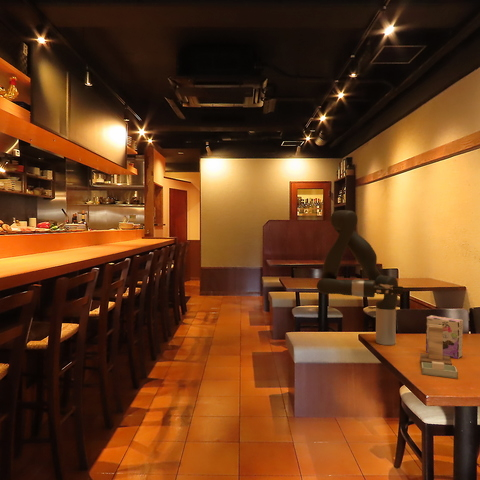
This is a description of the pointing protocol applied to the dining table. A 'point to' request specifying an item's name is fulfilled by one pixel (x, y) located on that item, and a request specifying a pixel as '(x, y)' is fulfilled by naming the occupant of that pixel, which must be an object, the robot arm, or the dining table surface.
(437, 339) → the block
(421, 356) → the flat square baseboard
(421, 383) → the dining table surface
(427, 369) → the tray
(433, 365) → the tile
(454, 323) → the candy box
